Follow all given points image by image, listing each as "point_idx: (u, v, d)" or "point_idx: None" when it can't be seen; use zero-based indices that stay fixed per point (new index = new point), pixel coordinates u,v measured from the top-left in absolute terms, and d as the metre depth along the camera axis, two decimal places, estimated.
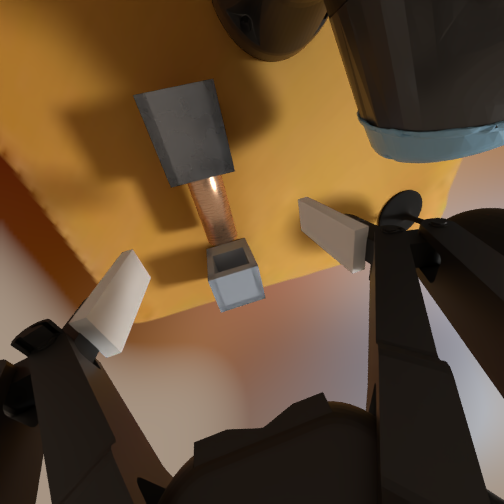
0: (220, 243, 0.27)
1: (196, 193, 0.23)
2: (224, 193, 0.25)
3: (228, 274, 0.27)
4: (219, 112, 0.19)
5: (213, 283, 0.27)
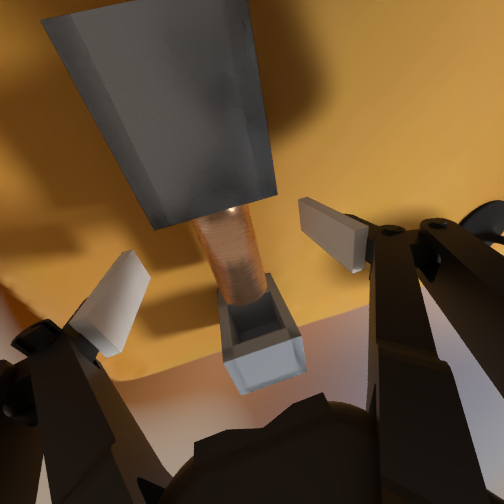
0: (242, 303, 0.17)
1: (204, 230, 0.13)
2: (251, 227, 0.15)
3: (254, 350, 0.17)
4: (255, 70, 0.08)
5: (231, 364, 0.17)
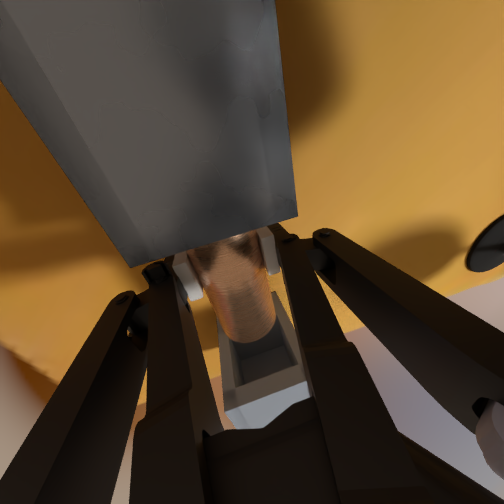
0: (247, 340, 0.14)
1: (200, 259, 0.10)
2: (258, 250, 0.12)
3: (262, 396, 0.14)
4: (274, 38, 0.05)
5: (234, 412, 0.14)
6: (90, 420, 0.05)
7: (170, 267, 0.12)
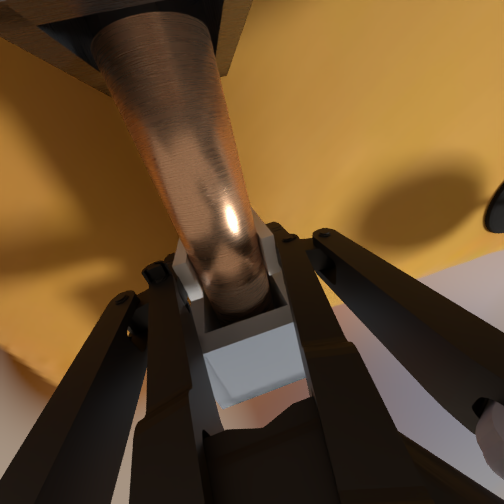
0: None
1: (200, 259, 0.10)
2: (258, 250, 0.12)
3: (237, 339, 0.11)
4: None
5: None
6: (90, 420, 0.05)
7: (170, 267, 0.12)
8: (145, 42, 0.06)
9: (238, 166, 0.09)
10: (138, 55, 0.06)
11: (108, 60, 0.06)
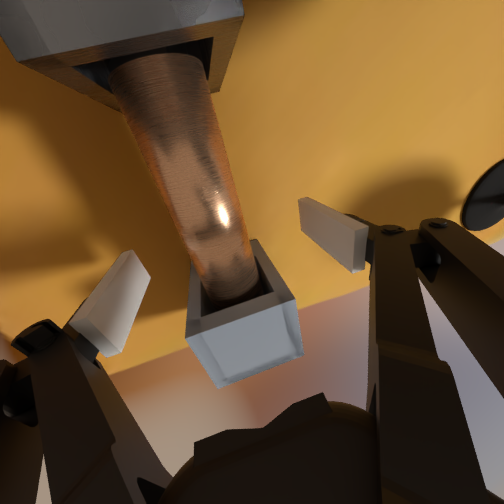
0: None
1: (196, 250, 0.12)
2: (248, 243, 0.13)
3: (229, 321, 0.12)
4: None
5: (198, 341, 0.12)
6: None
7: None
8: (152, 76, 0.08)
9: (228, 170, 0.11)
10: (146, 85, 0.08)
11: (122, 88, 0.08)
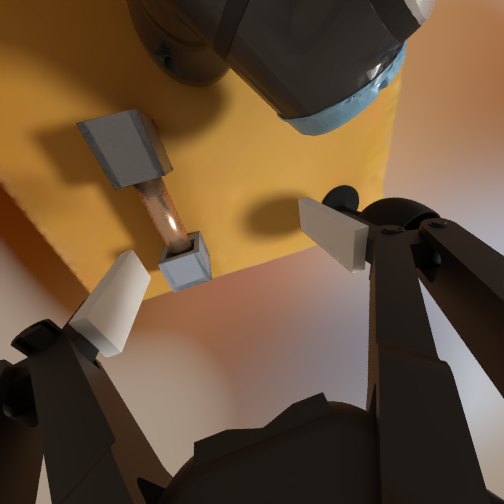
0: None
1: (161, 233, 0.33)
2: (182, 231, 0.35)
3: (174, 259, 0.34)
4: (144, 132, 0.25)
5: (162, 266, 0.34)
6: None
7: None
8: (144, 185, 0.29)
9: (171, 205, 0.32)
10: (142, 187, 0.29)
11: (136, 187, 0.29)
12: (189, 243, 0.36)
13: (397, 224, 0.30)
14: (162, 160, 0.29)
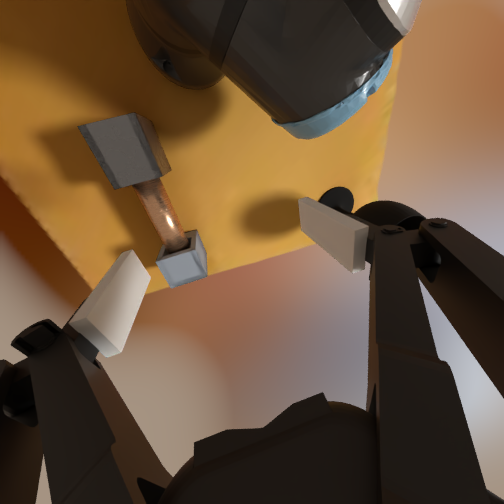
0: None
1: (159, 231, 0.35)
2: (180, 230, 0.36)
3: (171, 256, 0.35)
4: (143, 135, 0.26)
5: (160, 263, 0.35)
6: None
7: None
8: (142, 185, 0.30)
9: (168, 205, 0.33)
10: (141, 187, 0.30)
11: (135, 187, 0.31)
12: (186, 241, 0.38)
13: None
14: (160, 161, 0.30)
